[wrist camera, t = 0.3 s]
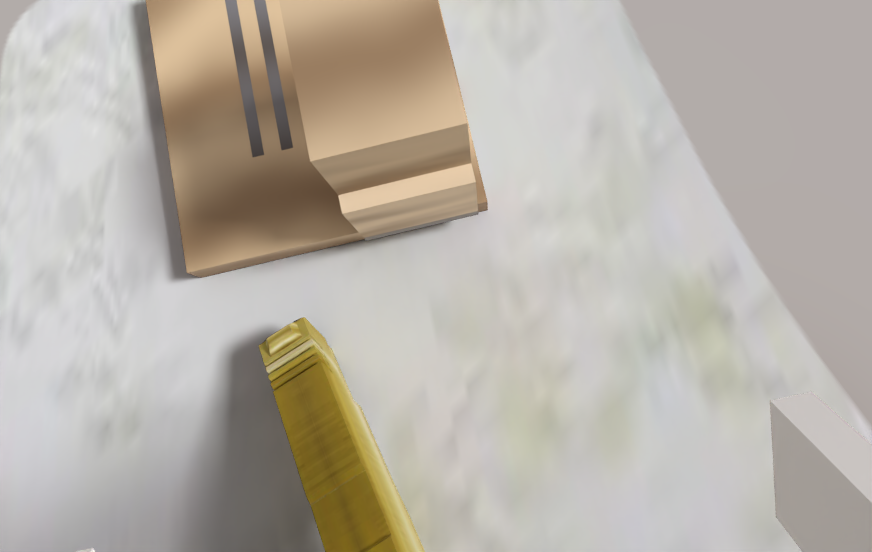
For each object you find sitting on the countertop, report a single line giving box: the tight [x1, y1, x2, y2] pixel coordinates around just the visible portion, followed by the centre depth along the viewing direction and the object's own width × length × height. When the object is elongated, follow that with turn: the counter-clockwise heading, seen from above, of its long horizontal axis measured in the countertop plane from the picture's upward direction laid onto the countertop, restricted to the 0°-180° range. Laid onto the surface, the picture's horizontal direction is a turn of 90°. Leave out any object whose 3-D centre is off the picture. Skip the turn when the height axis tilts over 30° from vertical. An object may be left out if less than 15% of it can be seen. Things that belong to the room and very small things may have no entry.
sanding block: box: [279, 0, 478, 241], centre depth 26 cm, size 8×6×9 cm
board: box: [146, 0, 487, 278], centre depth 32 cm, size 16×15×2 cm
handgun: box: [259, 318, 425, 552], centre depth 27 cm, size 2×19×12 cm
